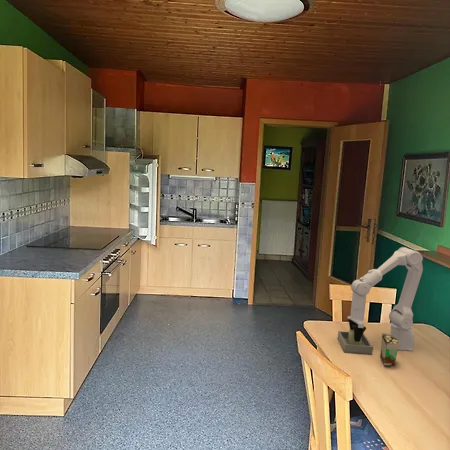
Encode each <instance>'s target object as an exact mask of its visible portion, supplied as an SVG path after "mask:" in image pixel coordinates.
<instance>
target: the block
mask: <svg viewBox="0 0 450 450" xmlns="http://www.w3.org/2000/svg"><path fill="white" fill-rule="evenodd" d="M348 332H349V335H348V344H350V345H361V340H360V342H356V341H355V340H354V330H350V329H349V330H348ZM361 339H362V337H361Z"/></svg>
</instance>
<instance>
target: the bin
mask: <svg viewBox="0 0 450 450" xmlns="http://www.w3.org/2000/svg"><path fill="white" fill-rule="evenodd" d="M348 335H349V331H342V330H338V331H337V340H338V343H339V344H340V346H341V348H342V350H343V352H344V353H345V354H355V355H357V354H358V355H368V356H369V355H371V356H373V353H374V352H373V350H374V346H373V345H372V343H371V342H370V340H369V339H368V337H367V336H366V334H365V332H364V333H363V335H362V339H361V345H350V344H348Z"/></svg>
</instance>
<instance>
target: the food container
mask: <svg viewBox="0 0 450 450" xmlns="http://www.w3.org/2000/svg"><path fill="white" fill-rule="evenodd" d="M380 341H381V342H380V355H379V357H380V361H381V363H382V366H383V368H392V367H394V366H395V364H396V360H397V355H398V351H399V349H398V348H400V342H399V339H398V338H396V337H394V336H392V335H390V333H383V332H382V333H381V340H380Z"/></svg>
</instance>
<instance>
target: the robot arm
mask: <svg viewBox="0 0 450 450" xmlns="http://www.w3.org/2000/svg"><path fill="white" fill-rule="evenodd" d="M423 260H424V257H423V256H422V254H421V252H419V251H418V250H414V249H410V248H408V247H405V246H401V247H399V248H398V249H397V250H395V251H394V253H393V254H392V255H391V256H390V257H389V258H388V259H387V260H386V261H385V262H383V264H381V265H380V266H379V267H378V268H372V269H369V270H368V271H367V273H365V274H364V275H363V276H361V277H359V279H355V280H353V282H352V283H351V285H350V289H351V291H352V295H351V304H350V305H351V307H350V315H348V316H347V322H348V325H349V330H354V340H355V341H356V342H360V340H361V337H362V335H363V333H364V334H365V331H366V330H367V327H366V326H364V322H365V313H366V302H367V295H369V293H370V291H371V289H372V288H373V287H374V286H375V285H377V284H379V282H381V281H382V280H383V276H384V275H386V274H388V272H390V271H391V270H393V269H394V268H396V267H397V266H405V268H406V269H407V273H406V277H405V280H404V283H403V287H402V290H401V293H400V296H399V300H398V303H397V304H395V305H394V306H393V309H392V310H391V311H390V313H389V315H388V319H389V321H390V330H389V331H390V332H389V335H392V336H394V337H396V338H398V339H399V342H400V348H398V351H399V350H400V351H401V350H402V351H410V352H411V351H414V343H415V342H414V340H415V331H414V328H412V327H413V323H414V321H413V317H414V313H413V310H412V306H413V304H414V303H413V302H414V299H415V296H416V293H417V291H418V288H419V284H420V280H421V278H422V274H423V271H424V267H423Z"/></svg>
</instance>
